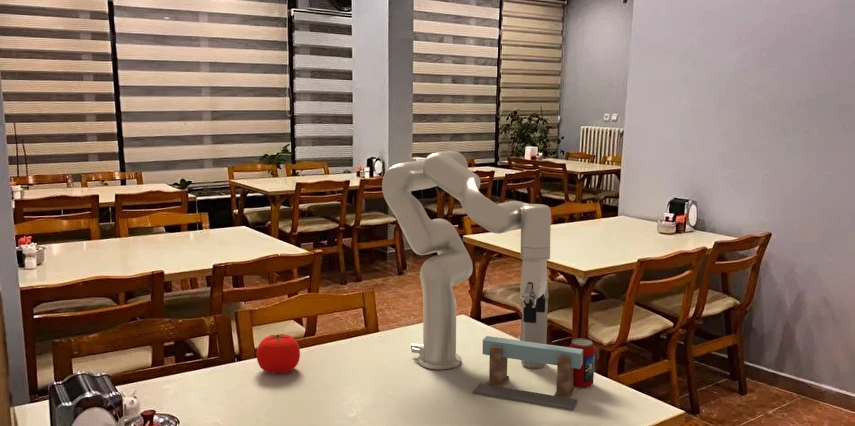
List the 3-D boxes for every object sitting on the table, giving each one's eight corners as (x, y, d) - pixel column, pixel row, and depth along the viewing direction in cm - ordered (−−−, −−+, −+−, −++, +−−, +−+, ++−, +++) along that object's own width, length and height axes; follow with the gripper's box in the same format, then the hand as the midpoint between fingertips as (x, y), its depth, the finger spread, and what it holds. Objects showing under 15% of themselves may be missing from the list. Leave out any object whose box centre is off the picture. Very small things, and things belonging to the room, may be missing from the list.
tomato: (297, 361, 200) (296, 326, 199) (303, 376, 189) (302, 339, 188) (255, 365, 197) (254, 330, 195) (258, 381, 186) (257, 344, 184)
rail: (482, 354, 184) (482, 339, 184) (486, 350, 188) (486, 335, 187) (580, 368, 175) (580, 353, 174) (582, 364, 178) (583, 349, 177)
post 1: (486, 386, 183) (487, 346, 181) (494, 376, 190) (495, 338, 188) (501, 388, 182) (502, 348, 180) (508, 378, 188) (509, 340, 187)
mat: (472, 393, 179) (472, 391, 179) (479, 385, 184) (479, 383, 184) (573, 410, 169) (573, 408, 169) (577, 401, 174) (577, 399, 174)
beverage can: (593, 390, 181) (595, 347, 179) (567, 388, 182) (569, 345, 180) (592, 380, 187) (594, 338, 185) (567, 378, 189) (569, 336, 187)
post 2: (554, 397, 176) (555, 356, 175) (559, 387, 183) (561, 347, 181) (569, 400, 175) (571, 359, 173) (574, 389, 181) (576, 349, 180)
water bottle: (552, 366, 197) (555, 281, 193) (532, 372, 193) (534, 285, 189) (530, 356, 205) (532, 274, 201) (510, 361, 200) (512, 278, 196)
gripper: (529, 245, 186) (528, 306, 188) (511, 258, 170) (511, 325, 172) (557, 247, 183) (556, 309, 185) (541, 260, 167) (541, 328, 170)
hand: (534, 317), depth 179 cm, fingers open, 9 cm apart
